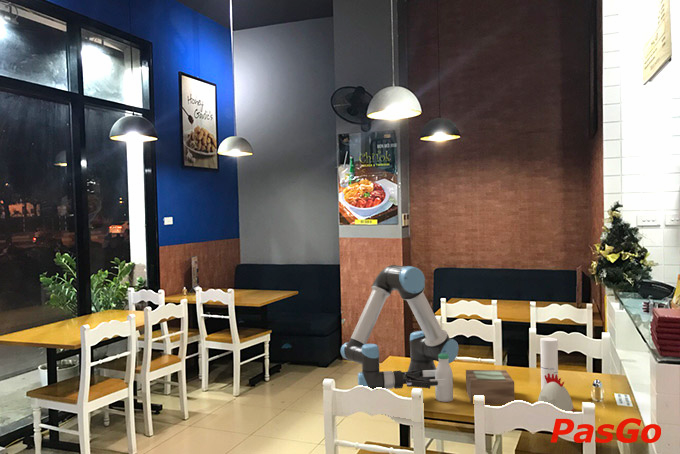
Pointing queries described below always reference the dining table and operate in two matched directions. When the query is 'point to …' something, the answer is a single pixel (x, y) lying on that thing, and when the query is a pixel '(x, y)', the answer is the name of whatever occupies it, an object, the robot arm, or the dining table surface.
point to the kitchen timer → (556, 394)
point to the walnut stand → (490, 386)
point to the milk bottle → (444, 373)
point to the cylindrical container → (548, 358)
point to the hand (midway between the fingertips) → (441, 377)
